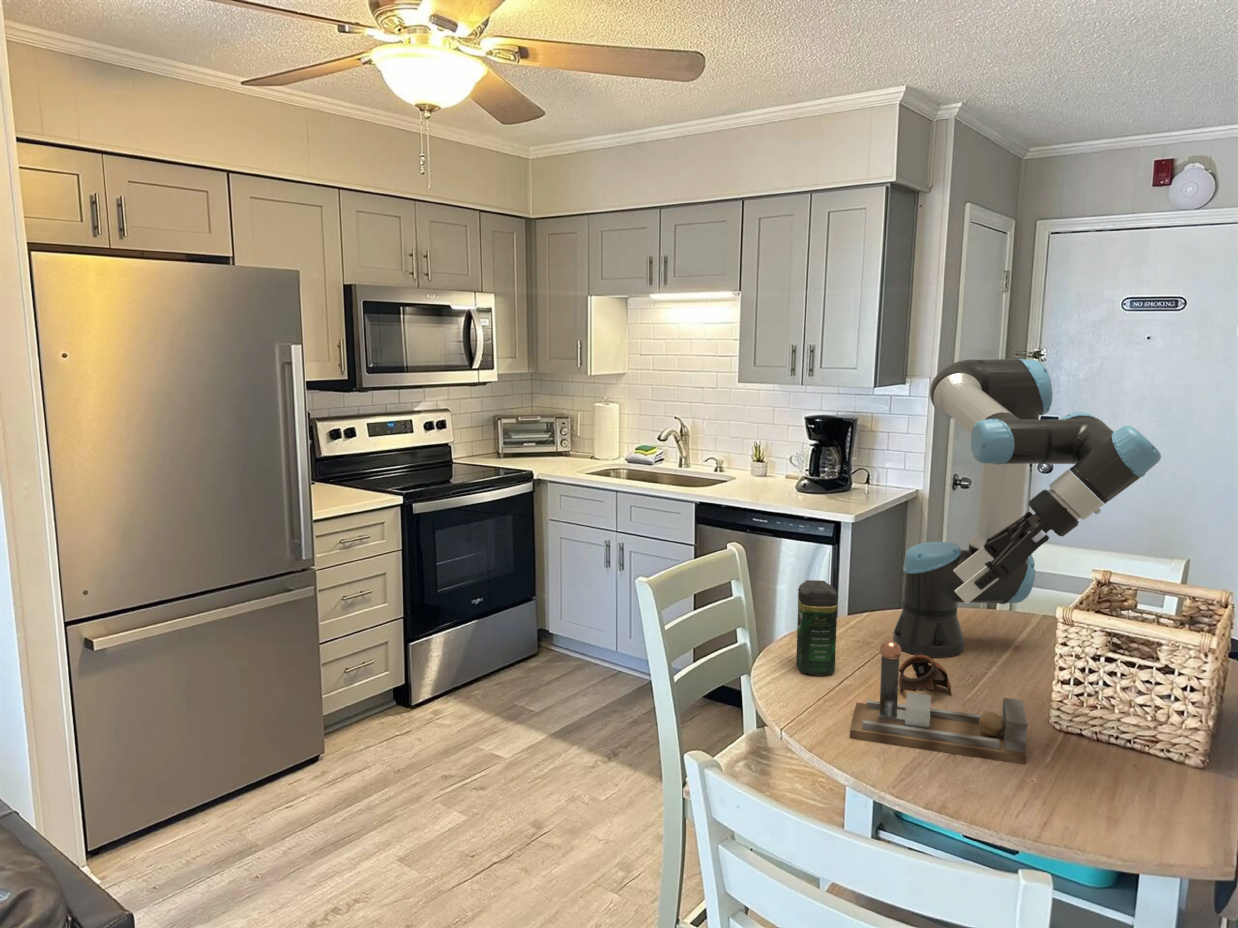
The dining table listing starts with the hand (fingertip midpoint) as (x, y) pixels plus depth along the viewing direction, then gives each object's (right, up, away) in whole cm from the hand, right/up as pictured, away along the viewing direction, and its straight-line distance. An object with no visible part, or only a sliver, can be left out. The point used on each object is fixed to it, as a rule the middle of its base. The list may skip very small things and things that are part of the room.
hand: (959, 586), depth 145 cm
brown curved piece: (+3, -24, +25) cm, 35 cm away
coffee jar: (-16, -23, +36) cm, 46 cm away
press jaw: (-7, -25, +7) cm, 27 cm away
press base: (-2, -27, +5) cm, 28 cm away
